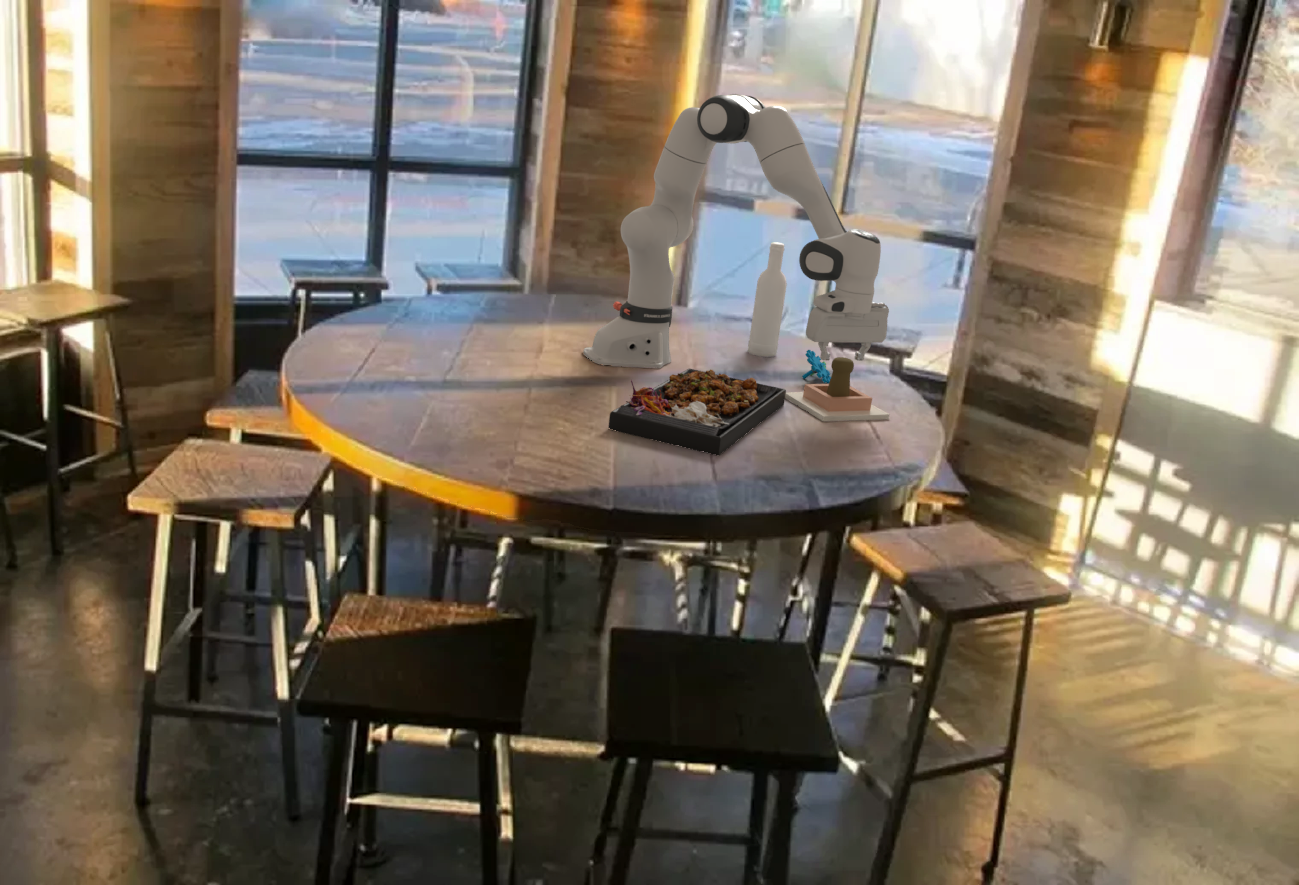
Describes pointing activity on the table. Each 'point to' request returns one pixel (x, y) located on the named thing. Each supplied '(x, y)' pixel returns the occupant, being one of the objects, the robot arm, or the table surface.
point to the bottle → (768, 306)
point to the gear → (817, 367)
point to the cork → (840, 377)
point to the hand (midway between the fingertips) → (841, 359)
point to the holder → (836, 404)
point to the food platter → (697, 410)
